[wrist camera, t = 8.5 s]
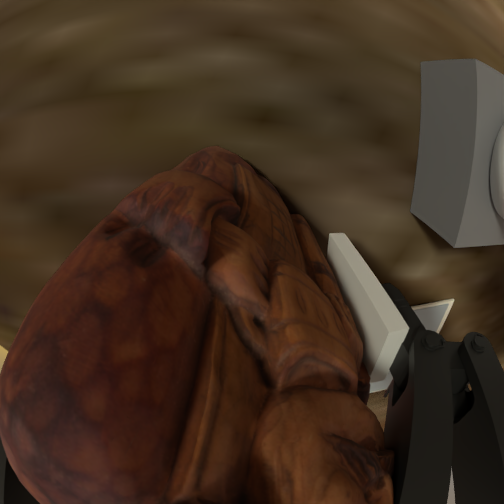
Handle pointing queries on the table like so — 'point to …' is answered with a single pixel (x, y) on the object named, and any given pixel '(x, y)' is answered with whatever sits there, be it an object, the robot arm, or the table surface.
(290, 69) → the table surface
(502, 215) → the dome
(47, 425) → the wooden figurine
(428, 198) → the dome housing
